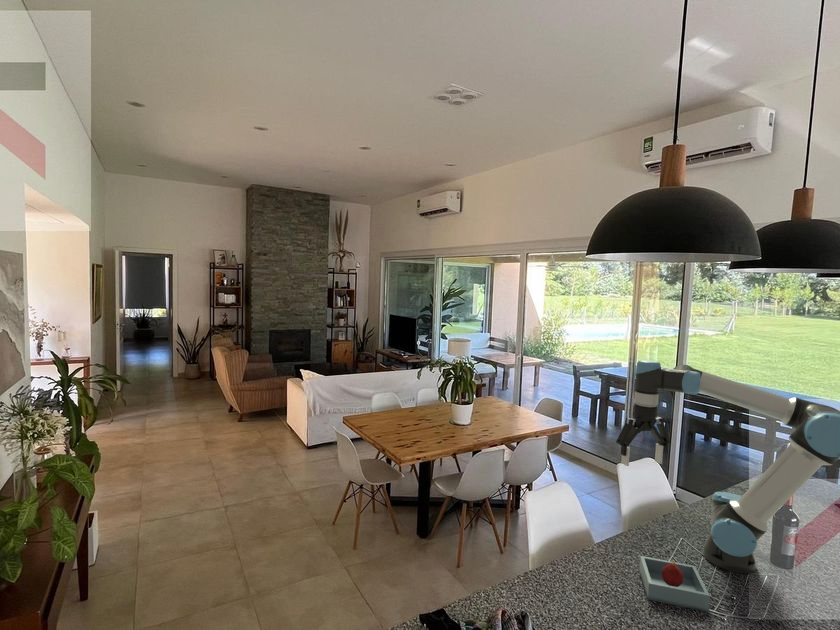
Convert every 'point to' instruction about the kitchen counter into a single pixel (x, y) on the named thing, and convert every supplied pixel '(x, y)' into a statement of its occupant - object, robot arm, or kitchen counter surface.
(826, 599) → the kitchen counter surface
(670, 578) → the onion
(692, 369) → the robot arm
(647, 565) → the bin
